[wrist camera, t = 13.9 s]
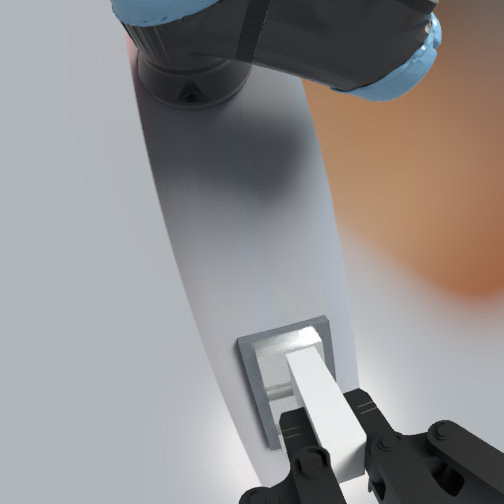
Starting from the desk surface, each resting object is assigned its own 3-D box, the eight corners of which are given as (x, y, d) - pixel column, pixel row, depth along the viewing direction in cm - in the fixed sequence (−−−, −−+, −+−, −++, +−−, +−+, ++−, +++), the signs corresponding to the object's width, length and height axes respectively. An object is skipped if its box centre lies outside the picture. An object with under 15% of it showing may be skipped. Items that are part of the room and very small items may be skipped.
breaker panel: (237, 338, 43) (242, 376, 33) (324, 315, 43) (349, 346, 34) (269, 442, 48) (278, 481, 39) (337, 423, 49) (354, 458, 39)
